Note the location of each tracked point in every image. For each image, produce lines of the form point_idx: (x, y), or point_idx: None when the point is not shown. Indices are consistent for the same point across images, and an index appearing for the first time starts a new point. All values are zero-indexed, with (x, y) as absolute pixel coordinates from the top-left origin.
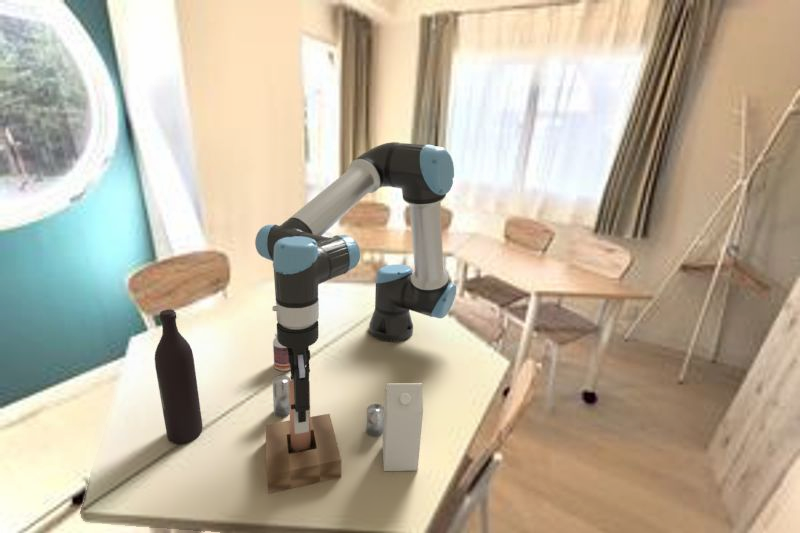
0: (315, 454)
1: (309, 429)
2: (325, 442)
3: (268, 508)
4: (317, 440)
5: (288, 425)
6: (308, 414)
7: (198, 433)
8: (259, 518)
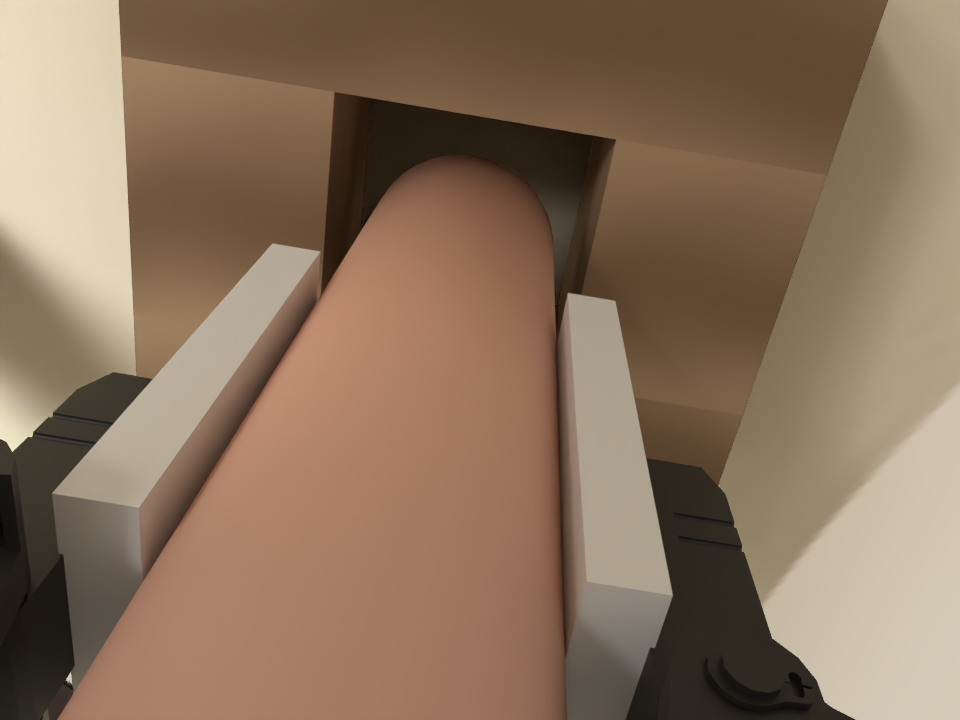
0: (687, 177)
1: (516, 246)
2: (576, 25)
3: (775, 475)
4: (510, 99)
5: (200, 301)
6: (641, 447)
7: (59, 702)
8: (811, 525)
